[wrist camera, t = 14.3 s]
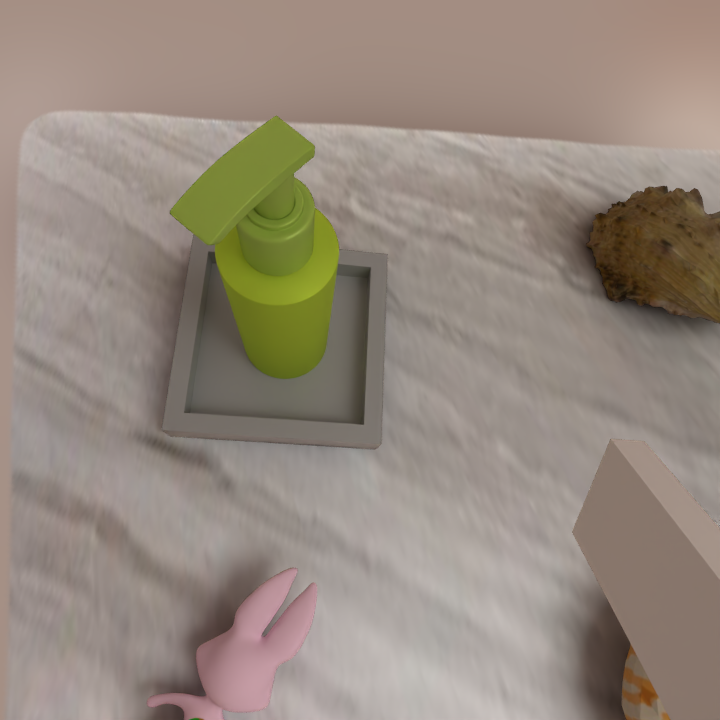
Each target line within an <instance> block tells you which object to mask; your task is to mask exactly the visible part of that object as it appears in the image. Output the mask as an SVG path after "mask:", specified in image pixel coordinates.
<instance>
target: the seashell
mask: <svg viewBox="0 0 720 720" xmlns="http://www.w3.org/2000/svg"><path fill="white" fill-rule="evenodd" d="M595 216H596V218H597V219H595V220H594V221H593V222H592V223H593V232H591V233H590V242H588V243H587V244H586V246H587V247H589V248H591V249H592V250H593V256H594V257H595V258H596V266H595V268H598V269H600V271H601V272H600V274H601V275H602V277H603V285H604V287H605V288H606V290H607V294H608V297H609V299H610V300H611V301H615V302H616V303H617V302H621V301H623V300H625V299H633V300H636V302H637V304H638V305H640V306H642V305H644V304H649V305H651V306H653V307H663V308H664V309H666V310H667V312H668V313H669V314H674V315H680V316H681V315H687V316H688V317H689V318H696V317H702V318H705V319H707V320H711V321H713V322H716V323H720V212H717V213H714V214H709V215H708V214H706V213H705V211H704V206H703V201H702V197H701V195H700V193H699V191H698V190H697V189H695V188H694V189H693V190H691V191H690V192H685V191H684V190H683V189H679V188H676V189H675V190H674V191H673V192H672V191H669V192H668V189H667V186H660V187H655V188H654V187H648V188H645V191H644V192H642V191H640V192H638V191H637V192H635V193H634V194H632V195H631V197H630V198H629V199H628V200H627V201H626V202H620V201H619V202H617V204H612V208H610V209H608V213H606V215H605V214H602V213H599V214H597V215H595Z"/></svg>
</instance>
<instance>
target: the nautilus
mask: <svg viewBox="0 0 720 720" xmlns="http://www.w3.org/2000/svg"><path fill="white" fill-rule="evenodd" d="M622 708H623V711H624V714H625V717H626V720H670V718H669V716H668V714H667V712H666V710H665V708H664V706H663V704H662V702H661V701H660V699H659V697H658V695H657V693H656V691H655V689H654V687H653V685H652V683H651V681H650V680H649V678H648V676H647V674H646V672H645V670H644V668H643V666H642V664H641V662H640V661H639V659H638V657H637V655H636V653H635V651H634V649H633V647H632V645H630V649H629V652H628V656H627V659H626V662H625V669H624V675H623V683H622Z"/></svg>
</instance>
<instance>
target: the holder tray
mask: <svg viewBox="0 0 720 720" xmlns="http://www.w3.org/2000/svg"><path fill="white" fill-rule="evenodd" d="M387 259H388V254H381V253H372V252H362V251H352V250H342V249H339V260H338V267H337V274H336V281H335V288H334V295H333V302H332V309H331V317H330V324H329V331H328V338H327V345H326V350H325V353H324V355H323V357H322V359H321V361H320V362H319V363H318V364H317V366H316V367H315V368H313V369H312V370H311V371H310V372H308V373H306V374H304V375H302V376H300V377H296V378H291V379H279V378H274V377H271V376H268V375H266V374H264V373H263V372H261V371H260V370H258V369H257V368H256V367H255V366H254V365H253V364H252V362H251V361H250V360H249V358H248V356H247V354H246V351H245V348H244V345H243V342H242V339H241V336H240V333H239V330H238V327H237V324H236V320H235V317H234V314H233V311H232V308H231V305H230V302H229V299H228V296H227V293H226V290H225V287H224V284H223V281H222V278H221V275H220V272H219V269H218V266H217V263H216V258H215V245H207V244H205V243H204V242H203V241H202V240H200V239H199V238H198V237H197V236H195V235H194V234H193V240H192V246H191V252H190V258H189V264H188V270H187V277H186V283H185V289H184V295H183V301H182V307H181V313H180V319H179V326H178V332H177V338H176V344H175V350H174V356H173V362H172V369H171V375H170V381H169V387H168V393H167V399H166V405H165V411H164V418H163V424H162V431H164V432H165V433H166V434H168V435H169V436H171V437H187V438H203V439H219V440H235V441H251V442H267V443H283V444H298V445H314V446H330V447H346V448H362V449H376V448H378V447H379V446H380V445H381V441H382V410H383V380H384V350H385V320H386V289H387Z"/></svg>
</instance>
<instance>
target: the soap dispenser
mask: <svg viewBox="0 0 720 720" xmlns="http://www.w3.org/2000/svg"><path fill="white" fill-rule="evenodd" d="M314 153H315V146H314V145H313V144H312V143H311V142H309V141H308V140H307V139H306V138H304V137H303V136H302V135H301V134H299V133H298V132H297V131H295V130H294V129H293V128H292V127H290V126H289V125H288V124H287V123H285V122H284V121H283V120H281V119H280V118H279V117H278V116H275V117H273V118H272V119H270V120H269V121H268V122H266V123H265V124H264V125H262V126H261V127H259V128H258V129H257V130H255V131H254V132H253V133H251V134H250V135H249V136H247V137H246V138H245V139H243V140H242V141H241V142H239V143H238V144H237V145H235V146H234V147H233V148H232V149H230V150H229V151H228V152H227V153H226V154H224V155H223V156H222V157H221V158H220V159H219V160H217V161H216V162H215V163H214V164H213V165H212V166H211V167H210V168H209V169H208V170H207V171H206V172H205V173H204V174H202V176H201V177H200V178H199V179H198V180H197V181H196V182H195V183H194V184H193V185H192V186H191V187H190V188H189V189H188V190H187V191H186V193H185V194H184V195H183V196H182V197H181V198H180V199H179V201H178V202H177V203H176V204H175V205H174V207H173V208H172V209H171V210H170V214H171V215H172V216H173V217H174V218H175V219H176V220H178V221H179V222H180V223H181V224H182V225H183V226H185V227H186V228H187V229H188V230H189V231H191V232H192V233H193V234H194V235H195V236H197V237H198V238H199V239H200V240H202V241H203V242H204V243H205V244H207V245H215V258H216V263H217V266H218V269H219V272H220V275H221V278H222V281H223V284H224V287H225V290H226V293H227V296H228V299H229V302H230V305H231V308H232V311H233V314H234V317H235V320H236V324H237V327H238V330H239V333H240V336H241V339H242V342H243V345H244V348H245V351H246V354H247V356H248V358H249V360H250V361H251V362H252V364H253V365H254V366H255V367H256V368H257V369H258V370H260V371H261V372H263V373H264V374H266V375H268V376H271V377H274V378H279V379H291V378H296V377H300V376H302V375H304V374H306V373H308V372H310V371H311V370H312V369H313V368H315V367H316V366H317V364H318V363H319V362H320V361H321V359H322V357H323V355H324V353H325V350H326V345H327V338H328V331H329V324H330V317H331V309H332V302H333V295H334V288H335V281H336V274H337V267H338V260H339V244H338V239H337V236H336V233H335V231H334V229H333V227H332V225H331V224H330V222H329V221H328V219H327V218H326V217H325V216H324V215H323V214H322V213H321V212H320V211H319V210H317V209H316V208H315V205H314V200H313V197H312V195H311V193H310V191H309V190H308V188H307V187H306V186H305V185H304V184H303V183H302V182H301V181H299V180H298V179H296V178H295V177H294V173H295V172H296V171H297V170H298V169H300V168H301V167H302V166H303V165H304V164H306V163H307V162H308V161H309V160H310V159H312V158H313V157H314Z"/></svg>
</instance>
